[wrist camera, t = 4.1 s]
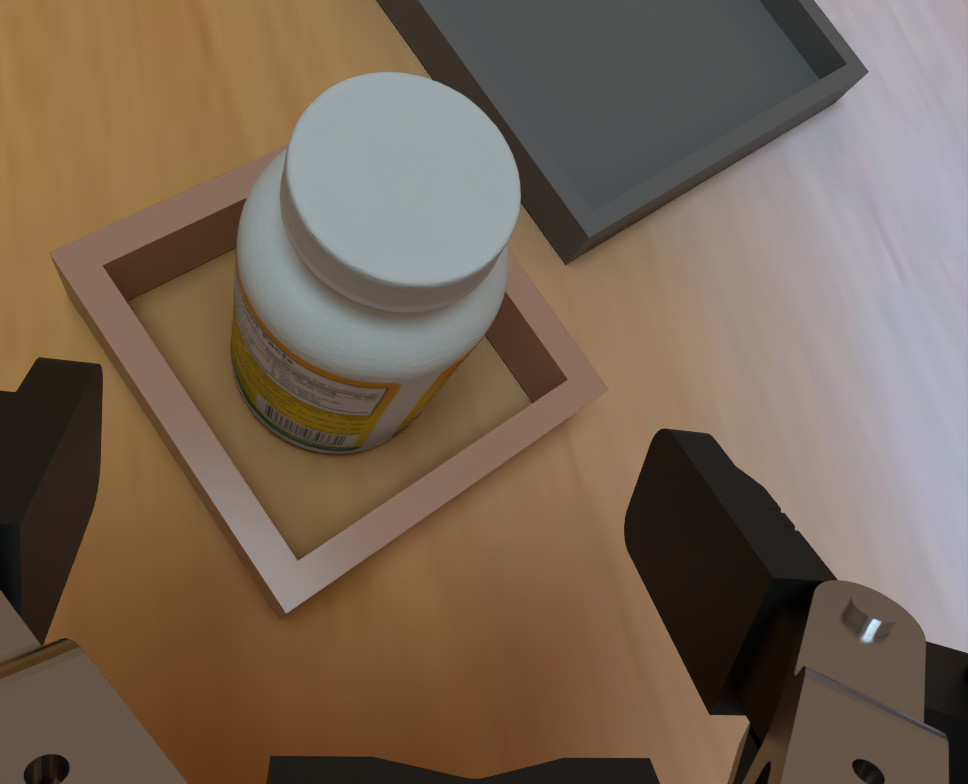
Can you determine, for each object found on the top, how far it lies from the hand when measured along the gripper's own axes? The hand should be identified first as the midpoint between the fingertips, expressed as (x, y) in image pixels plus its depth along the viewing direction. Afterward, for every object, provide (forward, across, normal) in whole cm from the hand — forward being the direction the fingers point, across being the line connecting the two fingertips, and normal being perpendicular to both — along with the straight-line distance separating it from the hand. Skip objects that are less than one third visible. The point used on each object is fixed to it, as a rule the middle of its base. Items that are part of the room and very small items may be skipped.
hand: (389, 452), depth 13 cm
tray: (+21, -6, -7) cm, 23 cm away
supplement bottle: (+10, 0, +4) cm, 11 cm away
